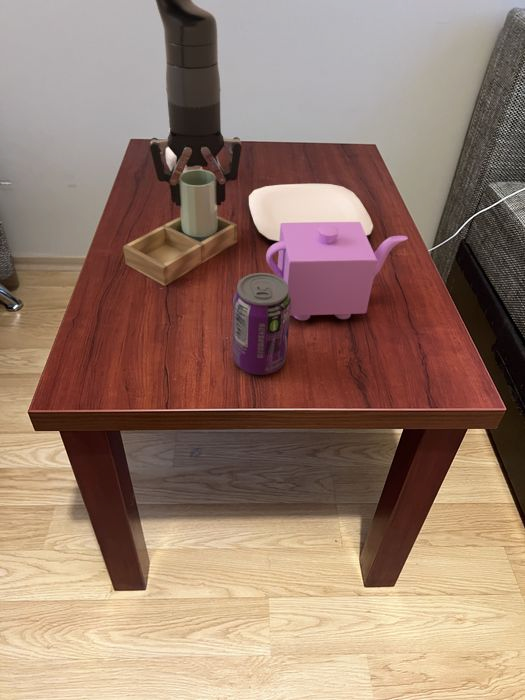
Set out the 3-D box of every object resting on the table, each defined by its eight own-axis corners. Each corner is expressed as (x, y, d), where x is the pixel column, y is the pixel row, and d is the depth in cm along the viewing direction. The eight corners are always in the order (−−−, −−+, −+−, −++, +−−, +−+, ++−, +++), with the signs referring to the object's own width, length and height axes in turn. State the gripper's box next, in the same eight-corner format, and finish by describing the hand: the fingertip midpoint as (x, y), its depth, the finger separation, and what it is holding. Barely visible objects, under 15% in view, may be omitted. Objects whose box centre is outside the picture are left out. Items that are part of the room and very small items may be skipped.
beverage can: (286, 379, 70) (293, 307, 62) (231, 377, 70) (231, 304, 62) (285, 343, 76) (291, 271, 67) (234, 341, 75) (234, 269, 67)
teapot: (267, 324, 78) (271, 250, 70) (260, 283, 86) (263, 211, 77) (401, 320, 80) (421, 247, 72) (383, 280, 88) (400, 210, 79)
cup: (200, 241, 89) (198, 190, 83) (174, 228, 91) (170, 178, 85) (224, 227, 92) (224, 177, 86) (199, 215, 95) (196, 166, 89)
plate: (381, 245, 95) (383, 237, 94) (259, 252, 92) (260, 243, 91) (348, 189, 111) (349, 181, 110) (243, 193, 108) (243, 185, 107)
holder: (164, 286, 84) (163, 268, 82) (125, 264, 88) (122, 246, 86) (237, 241, 94) (237, 224, 92) (199, 224, 98) (198, 206, 96)
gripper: (141, 104, 74) (153, 216, 85) (246, 104, 75) (244, 213, 87) (143, 87, 79) (154, 193, 91) (241, 87, 81) (240, 192, 92)
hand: (198, 203), depth 89 cm, fingers closed on cup, 6 cm apart
